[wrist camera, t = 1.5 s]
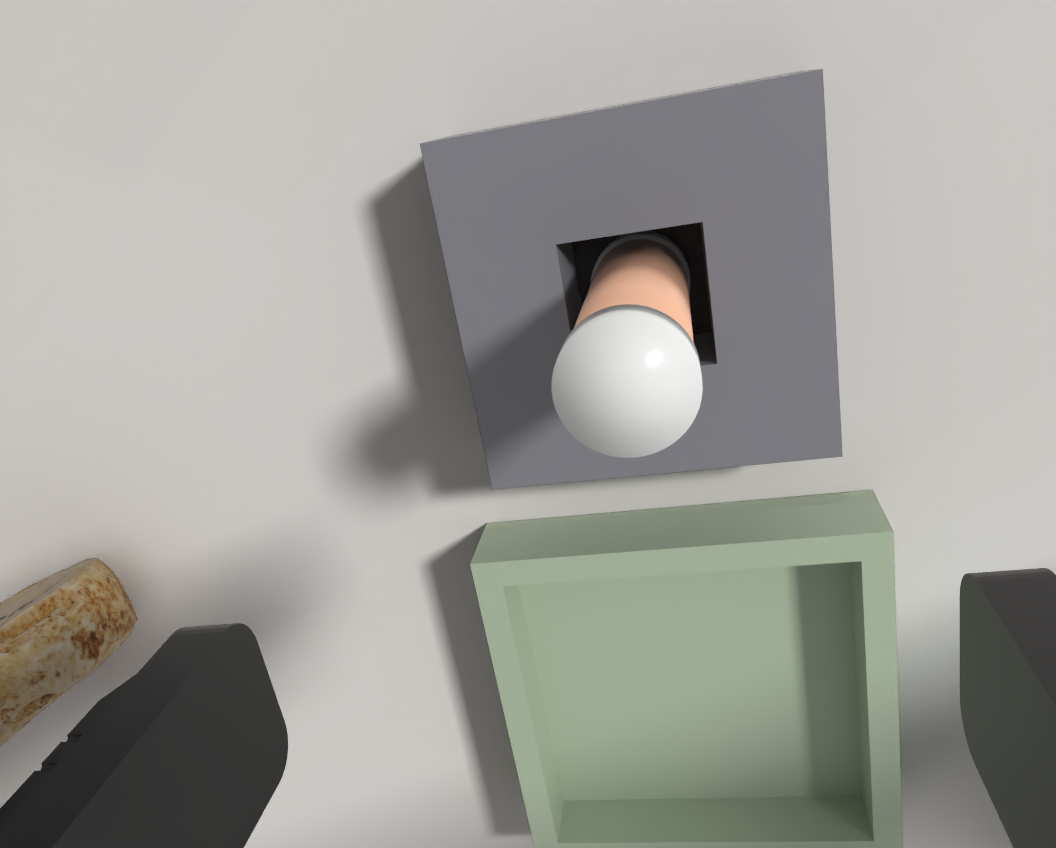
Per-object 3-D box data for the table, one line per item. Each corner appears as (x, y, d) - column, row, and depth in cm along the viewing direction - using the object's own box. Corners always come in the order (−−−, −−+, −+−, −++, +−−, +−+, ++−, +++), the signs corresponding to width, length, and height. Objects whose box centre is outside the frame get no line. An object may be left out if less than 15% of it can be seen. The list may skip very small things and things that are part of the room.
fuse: (684, 223, 27) (694, 306, 17) (695, 319, 28) (709, 449, 18) (586, 238, 28) (540, 326, 18) (600, 332, 29) (563, 464, 19)
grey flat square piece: (802, 71, 25) (822, 69, 22) (823, 414, 29) (842, 456, 26) (449, 136, 27) (419, 143, 24) (510, 447, 31) (492, 489, 28)
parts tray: (872, 489, 30) (893, 531, 27) (884, 798, 34) (903, 861, 32) (486, 523, 32) (469, 563, 30) (547, 804, 37) (537, 861, 34)
